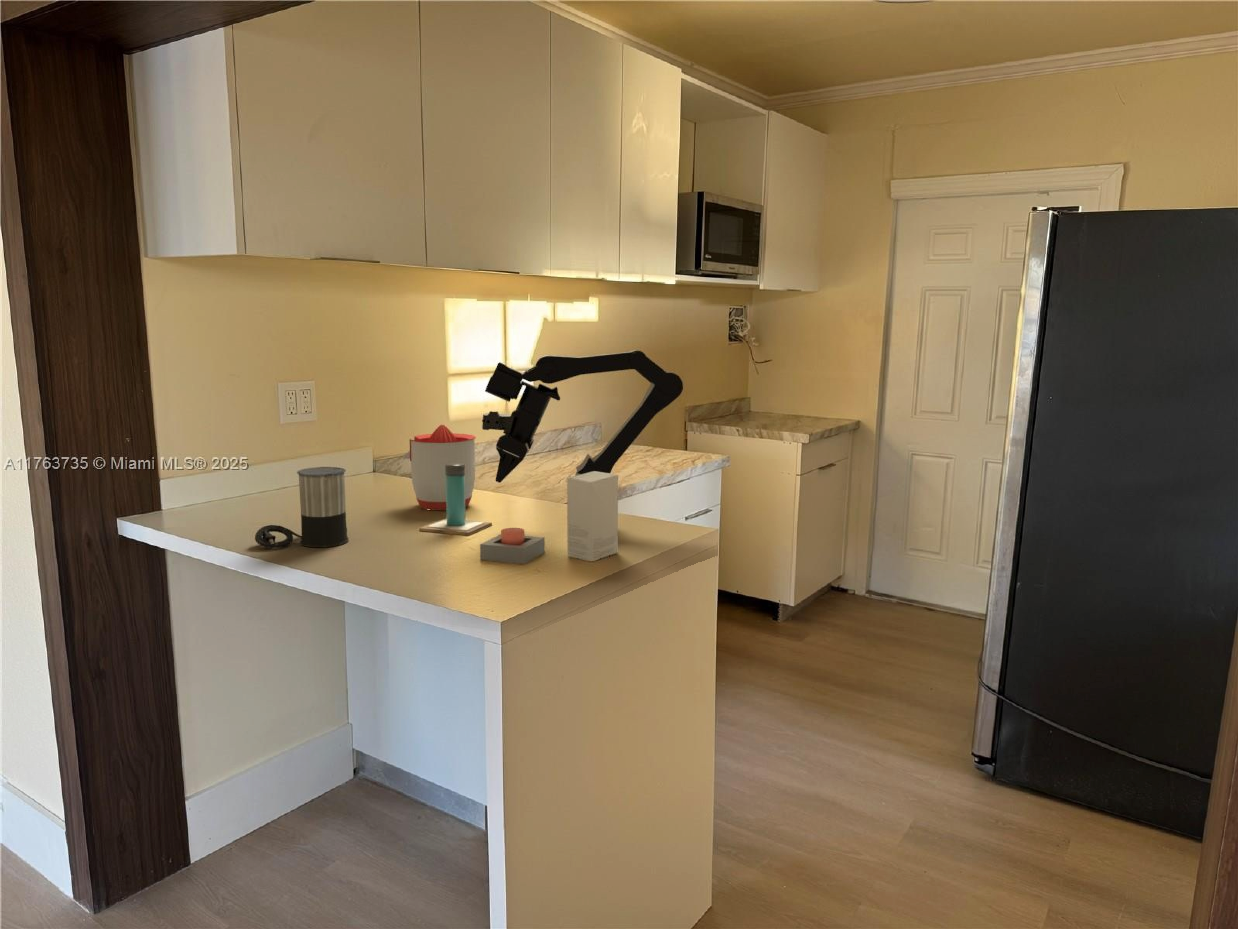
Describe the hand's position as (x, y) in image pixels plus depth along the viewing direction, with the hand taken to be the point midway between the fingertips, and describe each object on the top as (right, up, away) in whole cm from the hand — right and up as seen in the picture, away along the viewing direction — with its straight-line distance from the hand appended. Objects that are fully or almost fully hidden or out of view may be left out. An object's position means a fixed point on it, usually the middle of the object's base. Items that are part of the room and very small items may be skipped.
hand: (500, 478), depth 180 cm
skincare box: (+20, -15, -17) cm, 30 cm away
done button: (+5, -12, -18) cm, 23 cm away
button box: (+5, -14, -18) cm, 24 cm away
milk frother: (-38, -13, -10) cm, 41 cm away
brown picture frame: (-10, -11, +4) cm, 15 cm away
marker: (-10, -10, +4) cm, 15 cm away
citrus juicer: (-18, -7, +26) cm, 32 cm away
